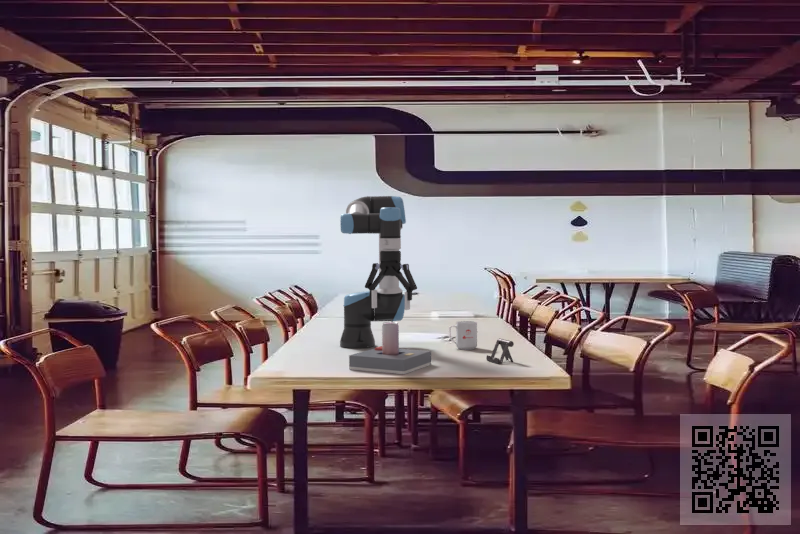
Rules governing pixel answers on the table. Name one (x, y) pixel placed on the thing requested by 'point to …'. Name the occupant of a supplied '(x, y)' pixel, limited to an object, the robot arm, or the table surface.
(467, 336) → the mug
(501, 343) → the portable electronic device stand
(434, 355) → the table surface
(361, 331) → the robot arm
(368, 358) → the socket
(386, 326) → the beverage can
